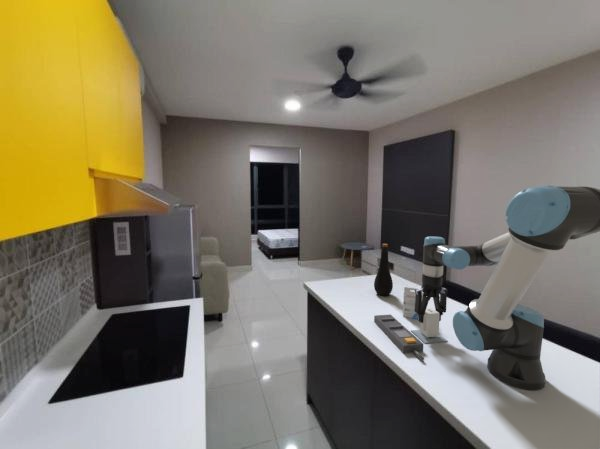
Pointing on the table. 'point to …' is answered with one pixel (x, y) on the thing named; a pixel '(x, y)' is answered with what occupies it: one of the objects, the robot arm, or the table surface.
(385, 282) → the bottle
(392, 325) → the power strip
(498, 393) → the table surface
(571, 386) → the table surface
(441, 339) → the mat
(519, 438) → the table surface
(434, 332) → the block
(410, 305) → the ink box
